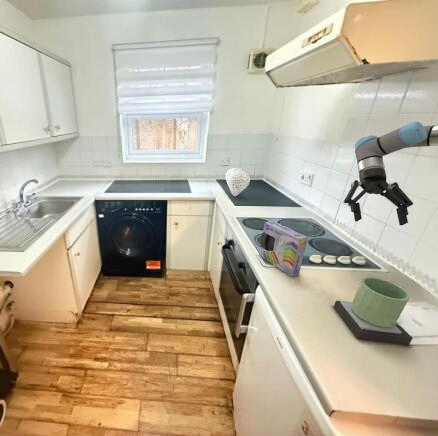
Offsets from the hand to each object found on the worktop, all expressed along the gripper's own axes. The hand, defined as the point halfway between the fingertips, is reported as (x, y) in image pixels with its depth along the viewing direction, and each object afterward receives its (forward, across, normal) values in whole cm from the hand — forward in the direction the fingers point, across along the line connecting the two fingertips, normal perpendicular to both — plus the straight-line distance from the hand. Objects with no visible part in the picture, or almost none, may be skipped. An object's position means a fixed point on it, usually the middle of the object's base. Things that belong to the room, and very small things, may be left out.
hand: (380, 222), depth 85 cm
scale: (+36, +8, 0) cm, 37 cm away
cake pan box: (+15, +29, -21) cm, 38 cm away
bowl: (+33, +8, +3) cm, 34 cm away
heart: (-56, +40, -92) cm, 115 cm away
